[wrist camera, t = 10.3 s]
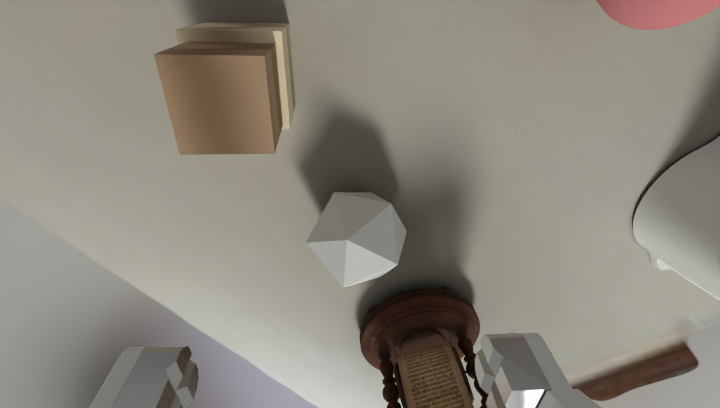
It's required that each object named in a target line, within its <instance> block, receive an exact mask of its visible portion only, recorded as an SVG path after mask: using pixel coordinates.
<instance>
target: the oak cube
mask: <svg viewBox="0 0 720 408" xmlns="http://www.w3.org/2000/svg"><path fill="white" fill-rule="evenodd" d="M176 34H177V39H178V43H179V45H180V44H183V43H186V42H188V41H195V42H246V43H276V53H277V64H278V75H279V87H280V98H281V109H282V121H283V125H282V129H290V128H291V123H292V118H293V114H294V109H295V94H294V81H293V68H292V55H291V42H290V29H289V23H225V22H203V23H200V24H196V25H192V26H188V27H184V28H181V29H177V30H176Z"/></svg>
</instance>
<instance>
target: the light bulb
mask: <svg viewBox="0 0 720 408" xmlns="http://www.w3.org/2000/svg"><path fill="white" fill-rule="evenodd" d="M596 1H597V2H598V4H599V5H600V6H601V7H602V9H603V10H604V11H605V13H606V14H607V15H608V16H610V17H611V18H612V19H614V20H615V21H617V22H619V23H620V24H622V25H626V26H629V27H632V28H636V29H663V28H669V27H673V26H678V25H681V24H684V23H686V22H689V21H692V20H695V19H697V18H699V17H701V16H703V15H705V14H707V13H709V12H710V11H712V10H714V9H715V8H717V7H718V6H720V0H596Z"/></svg>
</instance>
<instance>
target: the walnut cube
mask: <svg viewBox="0 0 720 408" xmlns="http://www.w3.org/2000/svg"><path fill="white" fill-rule="evenodd" d="M154 56H155V60H156V64H157V68H158V72H159V76H160V79H161V83H162V87H163V91H164V95H165V99H166V103H167V107H168V110H169V114H170V118H171V122H172V126H173V130H174V134H175V137H176V141H177V145H178V149H179V153H180V155H186V154H272V153H275V151H276V147H277V143H278V140H279V136H280V133H281V129H282V125H283V121H282V109H281V98H280V87H279V75H278V64H277V53H276V43H246V42H195V41H188V42H186V43H183V44H180V45H178V46H175V47H172V48H169V49H167V50H164V51H161V52H159V53H156V54H154Z"/></svg>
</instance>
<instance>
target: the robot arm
mask: <svg viewBox="0 0 720 408" xmlns="http://www.w3.org/2000/svg"><path fill="white" fill-rule="evenodd" d="M633 233H634V236H635V238H636V240H637V242H638V243H639V244H640V245H641V246H642V247H644V248H645V249H647V250H648V252H649V253H650V258H651V262H652V264H653V265H654V266H656V267H657V268H659V269H661V270H669V269H673V270H674V271H676V272H677V273H679V274H680V275H682V276H683V277H685V278H686V279H688V280H689V281H691V282H692V283H694V284H695V285H697V286H699V287H700V288H702V289H703V290H705V291H706V292H708V293H709V294H711V295H712V296H714V297H715V298H717V299H718V300H720V136H719V137H717V138H716V139H715V140H714V141H712V142H710V143H709V144H707V145H705V146H703V147H701V148H699V149H698V150H696V151H694V152H692V153H690V154H688V155H687V156H685V157H684V158H682V159H681V160H679V161H678V162H676V163H675V164H674V165H672V166H671V167H670V168H669V169H668V170H666V171H665V172H664V173H663V174H662V175H661V176H660V177H659V178H658V179H657V180H656V181H655V182H654V183H653V185H652V186H651V187H650V188H649V189H648V191H647V192H646V194H645V195H644V197H643V198H642V200H641V202H640V203H639V205H638V208H637V210H636V213H635V216H634V220H633ZM480 344H481V347H482V349H481V350H480V351H478V352H477V354H476V358H475V371H476V376H477V379H478V382H479V385H480V387H481V388H482V389H483V390H484V391H485V392H486V393H487V394H488V397H487V401H486V405H487V408H601V407H600V406H599V405H597V404H596V403H595V402H594V401H592V400H591V399H590V398H588V397H587V396H586V395H585V394H583V393H582V392H581V391H579V390H578V389H572V388H571V386H570V384H569V382H568V381H567V379H566V377H565V376H564V374H563V372H562V371H561V369H560V367H559V366H558V364H557V362H556V360H555V359H554V357H553V355H552V354H551V352H550V350H549V349H548V347H547V345H546V343H545V342H544V340H543V338H542V337H541V336H540V335H539V334H538V333H521V334H518V333H509V334H491V335H484V336H483V337H482V338H481V341H480ZM191 354H192V353H191V351H190V349H189V347H188V346H178V347H133V348H127V349H126V350H125V351H124V352H122V353H121V355H120V356H119V358H118V360H117V361H116V363H115V365H114V367H113V368H112V370H111V372H110V373H109V375H108V377H107V378H106V380H105V382H104V383H103V385H102V387H101V388H100V390H99V392H98V394H97V395H96V397H95V399H94V400H93V402H92V404H91V405H90V407H89V408H185V407H186V406H187V405H188V404H189V403H190V402H191V401H192V400H193V399H194V396H195V393H196V390H197V384H198V368H197V366H196V364H195V363H194V362H192V361H191V360H190V357H191Z"/></svg>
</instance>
